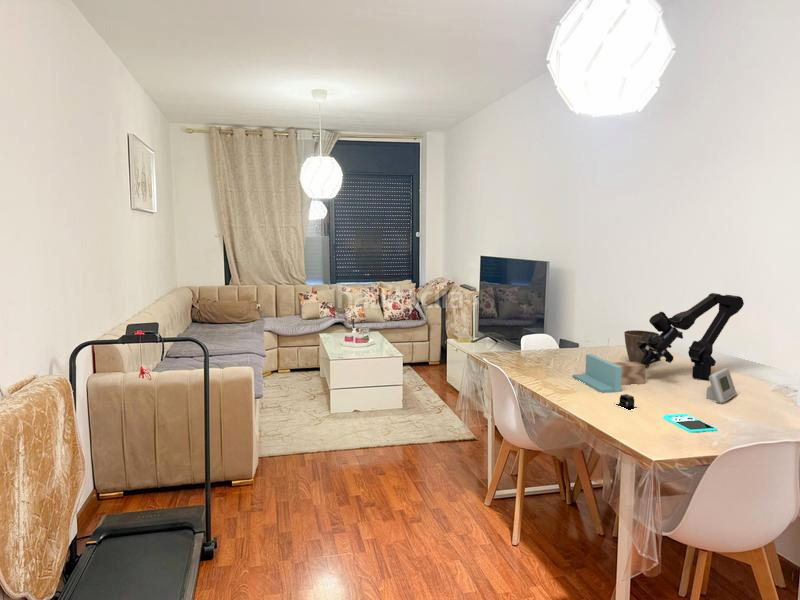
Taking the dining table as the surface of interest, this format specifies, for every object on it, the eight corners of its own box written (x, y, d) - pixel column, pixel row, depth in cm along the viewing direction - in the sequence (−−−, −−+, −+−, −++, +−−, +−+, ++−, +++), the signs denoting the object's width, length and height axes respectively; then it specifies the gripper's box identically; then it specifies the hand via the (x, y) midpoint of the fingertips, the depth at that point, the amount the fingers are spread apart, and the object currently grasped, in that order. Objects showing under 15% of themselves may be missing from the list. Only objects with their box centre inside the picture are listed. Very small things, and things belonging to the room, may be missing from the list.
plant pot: (648, 362, 274) (650, 330, 272) (663, 370, 259) (665, 335, 257) (617, 363, 274) (619, 330, 272) (631, 371, 259) (632, 336, 257)
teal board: (590, 376, 250) (591, 354, 249) (620, 391, 227) (621, 367, 225) (572, 377, 249) (573, 354, 247) (601, 392, 225) (602, 368, 224)
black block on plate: (606, 404, 212) (607, 392, 212) (621, 402, 215) (622, 390, 215) (632, 414, 201) (633, 401, 200) (647, 411, 204) (648, 399, 203)
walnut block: (634, 379, 244) (635, 361, 243) (644, 384, 238) (645, 365, 237) (600, 381, 242) (601, 363, 241) (609, 386, 235) (610, 367, 234)
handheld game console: (685, 416, 198) (686, 412, 198) (718, 432, 183) (719, 428, 183) (659, 418, 197) (659, 414, 197) (690, 434, 181) (690, 430, 181)
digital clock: (720, 405, 209) (722, 377, 208) (697, 399, 217) (698, 371, 215) (744, 398, 217) (746, 371, 216) (720, 392, 225) (722, 366, 224)
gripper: (640, 322, 248) (616, 349, 248) (668, 330, 230) (642, 358, 229) (656, 339, 251) (632, 365, 250) (684, 348, 232) (659, 376, 232)
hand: (640, 366), depth 240 cm, fingers closed, pressing on walnut block
